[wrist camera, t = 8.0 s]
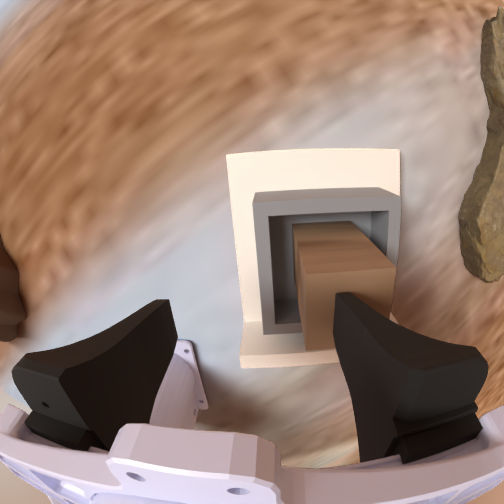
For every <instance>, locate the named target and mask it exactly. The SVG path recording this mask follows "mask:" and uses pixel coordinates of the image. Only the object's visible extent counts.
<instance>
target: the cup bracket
mask: <svg viewBox="0 0 504 504" xmlns="http://www.w3.org/2000/svg"><path fill="white" fill-rule="evenodd" d="M226 159H227V169H228V179H229V189H230V199H231V209H232V218H233V228H234V237H235V246H236V255H237V264H238V273H239V282H240V290H241V299H242V307H243V316H244V326H243V333H242V340H241V347H240V354H239V357H240V363H241V368H266V367H287V366H302V365H315V364H326V363H335V362H340V361H339V358H338V355H337V352H336V348H333V349H322V350H310V351H306V350H305V343H304V337H303V330H302V324H301V318H300V311H299V305H298V299H297V293H296V287H295V282H294V263H293V238H292V224H295V223H313V222H332V221H351V222H352V223H353V224H354V225H355V226H356V227H357V228H358V229H359V230H360V231H361V232H362V233H363V234H364V235H365V236H366V237H367V238H368V239H369V240H370V241H371V242H372V243H373V244H374V245H375V246H376V247H377V248H378V249H379V250H380V251H381V252H382V253H383V254H384V255H385V256H386V257H387V258H388V259H389V260H390V261H391V262H392V263H393V264H394V265H395V267H396V270H397V260H398V250H399V237H400V221H401V196H400V152H399V149H374V148H319V149H291V150H274V151H259V152H247V153H236V154H227V155H226ZM395 278H396V276H395ZM394 286H395V284H394ZM393 293H394V291H393ZM392 300H393V298H392ZM391 307H392V305H391ZM389 319H390V320H391V321H393V322H395V323H397V324H398V322H397V321H396V319H395V318H394V316H393V315H392V313H391V311H390V317H389ZM398 325H399V324H398Z"/></svg>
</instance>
